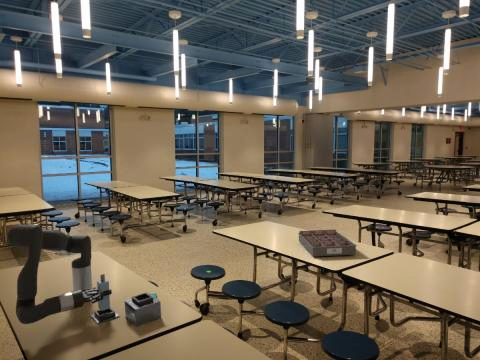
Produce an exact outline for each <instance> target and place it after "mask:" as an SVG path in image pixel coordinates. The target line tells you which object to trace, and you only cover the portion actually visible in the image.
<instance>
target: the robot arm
mask: <svg viewBox="0 0 480 360" xmlns="http://www.w3.org/2000/svg"><path fill="white" fill-rule="evenodd" d="M6 238H7V241H8V243H9V244H10V245H11V246H12V247H14V248H18V249H19V248H23V249H28V250H27V251H28V257H27V260H26V262H24V263H25V264H24V265H23V267H22V268H21V270H20V271H19V273H18V277H17V280H16V295H17V296H16V305H15V314H16V317H17V319H18V321H19V323H21V324H23V325H31V324H34V323H37V322H39V321H41V320H43V319H45V318H48V317H50V316H52V315H57V314H59V313H65V312H68V311H71V310H72V311H73V310H75V309H78V308H83V307H84V304H85V303H90V302H91V304H96V303H98V301H100V300H102V299H104V296H107V295H109V296H110V295H112V294H113V293H112V289H110V288H109V290H106V291H103V292H98V291H97V286H93V277H92V275H93V273H92V239H91V237H90V236H89V235H87V234H86V235H83V234H82V235H80V234H78V235H73V234H72V235H67V234H66V233H65V232H63V231H61V230H60V231H59V230H54V229H43V228H42V227H41V226H40V225H36V224H18V225H14V226H12V227H11V228H10V229H9V231H8V232H7V237H6ZM42 250H44V251H51V252H60V251H65V252H68V253H71V254H80V257H77V258H75V259H73V260H71V274H72V290H73V291H68V292H65V293H61V294H60V295H57V296H52V297H49V298H46V299H44V300H43V302H41V303H37V304H36V296H37V293H38V273H39V272H38V270H39V264H40V261H41V254H42ZM98 294H99V295H98Z"/></svg>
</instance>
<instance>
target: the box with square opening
mask: <svg viewBox="0 0 480 360" xmlns="http://www.w3.org/2000/svg"><path fill="white" fill-rule="evenodd" d="M151 294H152V293H149V292H143V293H140V294H136V295H133V296H131V298H129V299H126V300H124V311H125V312H124V313H125V318H126V319H127V320H128V321H129V322H130V323H131V324H132V325H134V326H135V327H139V326H140V327H141V326H142V325H145V324H149V323H151V322H153V321H156V320H159V319H161V318H162V305H161V303H162V302H161V300H160V299H158V298H157V299H156V298H155V297H154V296H152V295H151Z"/></svg>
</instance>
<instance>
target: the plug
mask: <svg viewBox="0 0 480 360" xmlns="http://www.w3.org/2000/svg"><path fill="white" fill-rule="evenodd" d="M96 285H97V286H96V287H97V291H98V292H103V291H106V290H110V282H109V280H108V279H107V278H106V277H105V273H101V274H100V279H99V280H97V281H96ZM98 295H99V294H98ZM110 300H111V298H110V295H107V296H104V299H102V300H100V301H98V302H97V306H98V310H101V311H102V310H106V309H109V308H110V307H111V305H110V304H111V301H110Z"/></svg>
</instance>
